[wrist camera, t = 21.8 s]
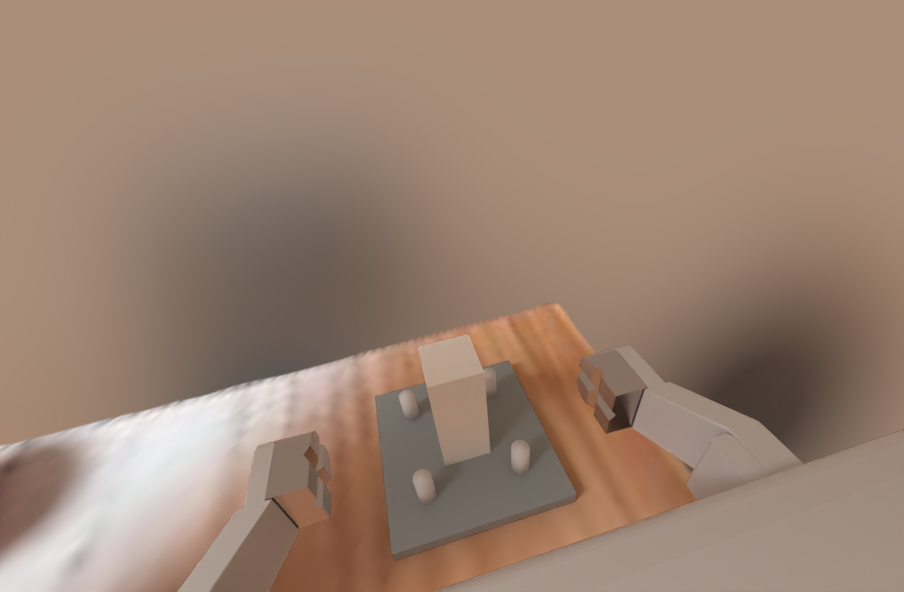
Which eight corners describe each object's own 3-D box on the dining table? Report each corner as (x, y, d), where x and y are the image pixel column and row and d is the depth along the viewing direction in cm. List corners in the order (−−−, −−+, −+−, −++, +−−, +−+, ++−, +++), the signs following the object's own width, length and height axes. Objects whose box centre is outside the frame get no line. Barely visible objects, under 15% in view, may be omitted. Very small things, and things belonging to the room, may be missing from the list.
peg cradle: (394, 560, 34) (383, 539, 31) (377, 403, 48) (368, 378, 45) (575, 501, 36) (580, 476, 33) (508, 368, 51) (508, 341, 47)
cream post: (445, 466, 39) (427, 387, 31) (435, 425, 43) (417, 347, 35) (490, 452, 40) (484, 372, 32) (476, 413, 44) (468, 334, 36)
